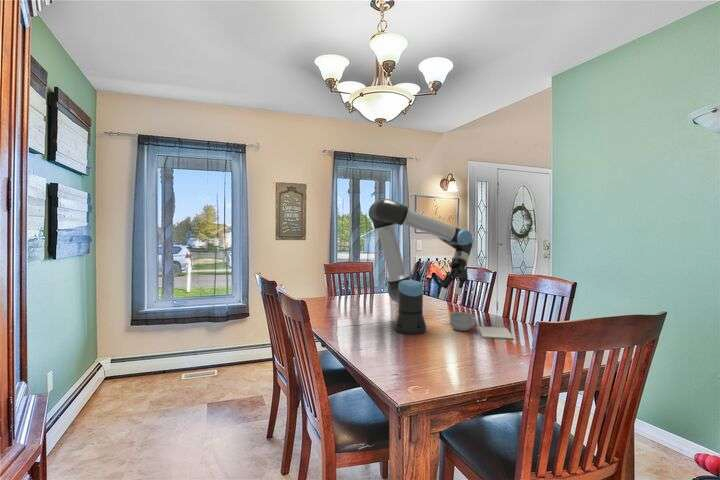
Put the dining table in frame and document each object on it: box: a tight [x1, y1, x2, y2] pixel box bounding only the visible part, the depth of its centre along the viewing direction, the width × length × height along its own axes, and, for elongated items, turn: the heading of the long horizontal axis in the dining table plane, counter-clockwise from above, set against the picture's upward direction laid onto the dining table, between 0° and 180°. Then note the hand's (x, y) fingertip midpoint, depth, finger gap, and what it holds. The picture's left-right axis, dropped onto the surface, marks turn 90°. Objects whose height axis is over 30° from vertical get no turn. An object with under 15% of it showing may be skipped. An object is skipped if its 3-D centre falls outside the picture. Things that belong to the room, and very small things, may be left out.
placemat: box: [478, 325, 515, 341], centre depth 174 cm, size 13×19×1 cm
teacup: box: [449, 311, 477, 332], centre depth 180 cm, size 14×11×8 cm
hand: (448, 296), depth 185 cm, fingers open, 13 cm apart
